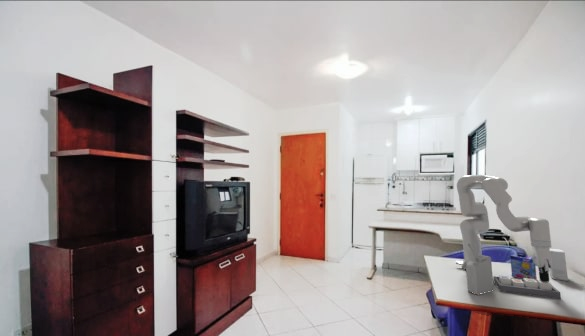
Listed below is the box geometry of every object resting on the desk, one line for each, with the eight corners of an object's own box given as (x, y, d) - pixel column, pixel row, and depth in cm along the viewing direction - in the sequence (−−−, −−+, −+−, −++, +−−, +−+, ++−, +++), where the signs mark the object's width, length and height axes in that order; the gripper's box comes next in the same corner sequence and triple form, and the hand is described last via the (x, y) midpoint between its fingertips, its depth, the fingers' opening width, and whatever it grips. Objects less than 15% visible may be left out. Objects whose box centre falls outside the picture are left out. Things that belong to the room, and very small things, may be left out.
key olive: (527, 287, 132) (526, 280, 132) (523, 283, 136) (523, 277, 136) (538, 288, 130) (537, 281, 130) (534, 285, 134) (533, 278, 135)
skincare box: (568, 281, 143) (565, 252, 144) (551, 279, 147) (549, 250, 148) (564, 276, 150) (562, 249, 151) (548, 274, 154) (546, 247, 155)
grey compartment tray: (500, 291, 133) (499, 285, 133) (493, 281, 146) (493, 276, 146) (560, 298, 123) (560, 292, 123) (548, 287, 135) (547, 282, 135)
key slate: (501, 284, 137) (500, 277, 137) (499, 281, 141) (498, 274, 141) (511, 285, 135) (511, 279, 135) (508, 282, 139) (508, 276, 139)
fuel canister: (474, 296, 128) (471, 244, 129) (464, 292, 132) (461, 242, 134) (494, 291, 134) (490, 241, 135) (483, 287, 138) (480, 239, 140)
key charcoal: (540, 288, 130) (540, 282, 130) (536, 285, 134) (536, 278, 134) (551, 290, 128) (551, 283, 128) (547, 286, 132) (547, 280, 132)
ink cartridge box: (511, 276, 153) (509, 251, 154) (515, 274, 155) (513, 249, 156) (532, 281, 144) (530, 254, 145) (537, 279, 147) (534, 253, 148)
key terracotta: (514, 287, 134) (513, 281, 134) (511, 284, 138) (510, 278, 139) (524, 289, 132) (524, 282, 133) (521, 285, 137) (521, 279, 137)
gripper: (526, 240, 140) (529, 275, 139) (536, 246, 127) (540, 284, 126) (544, 241, 137) (548, 276, 136) (557, 247, 124) (561, 287, 122)
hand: (544, 280), depth 131 cm, fingers closed
